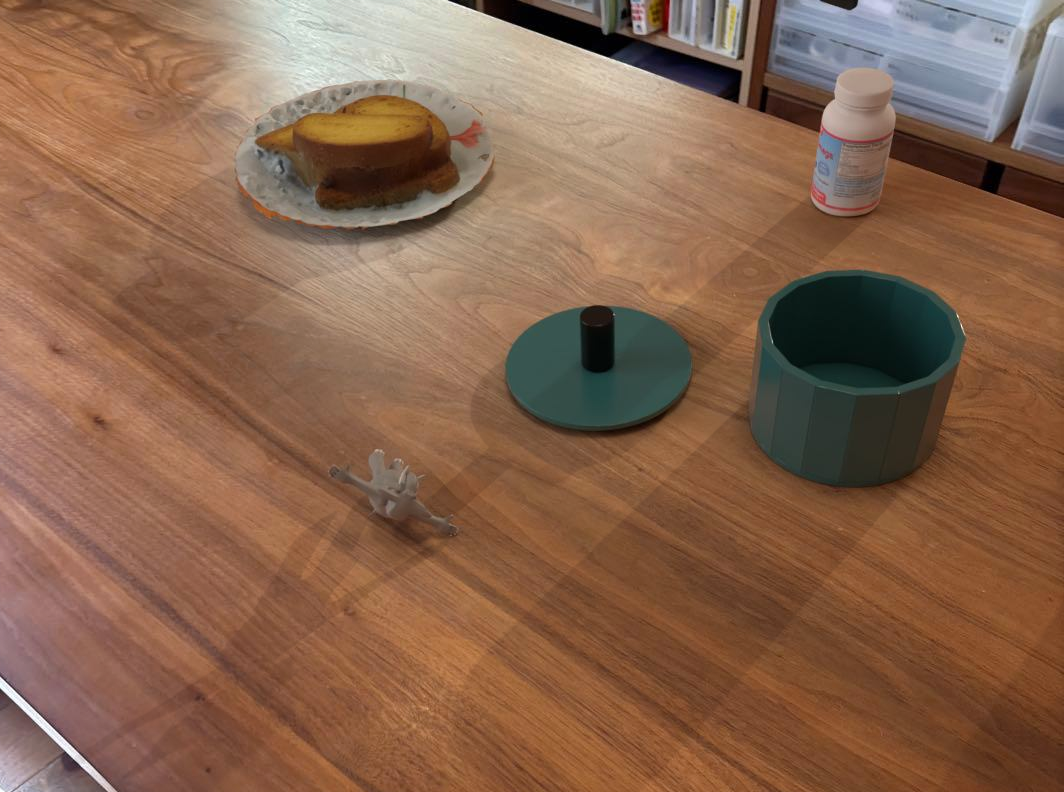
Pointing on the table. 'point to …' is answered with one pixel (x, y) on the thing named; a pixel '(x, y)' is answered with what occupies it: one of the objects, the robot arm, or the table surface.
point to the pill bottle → (854, 143)
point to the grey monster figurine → (393, 492)
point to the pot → (853, 376)
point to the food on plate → (363, 154)
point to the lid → (598, 368)
